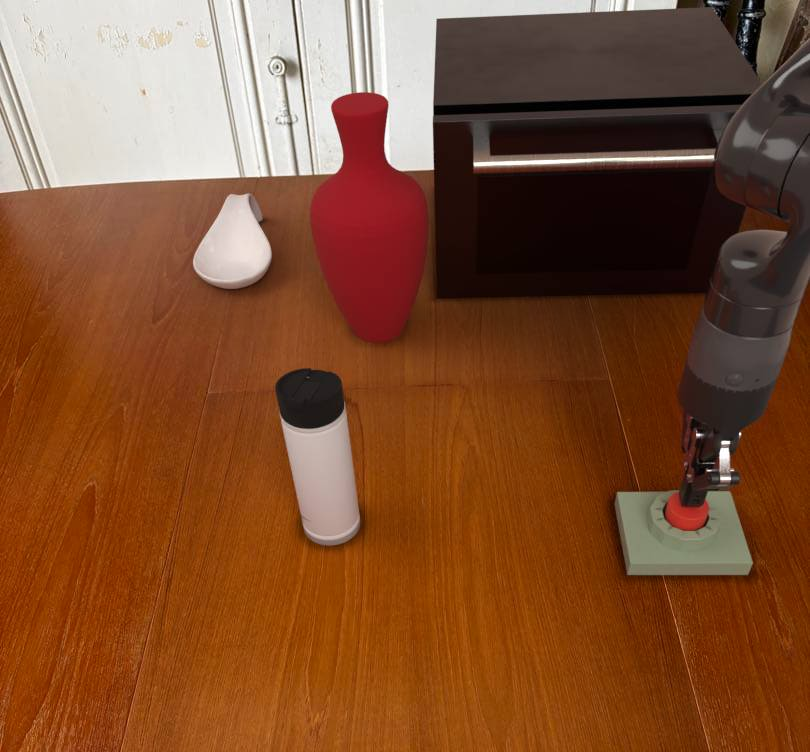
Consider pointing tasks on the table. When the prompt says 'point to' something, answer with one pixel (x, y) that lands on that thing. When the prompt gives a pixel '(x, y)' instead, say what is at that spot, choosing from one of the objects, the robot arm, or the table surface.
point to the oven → (588, 62)
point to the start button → (685, 514)
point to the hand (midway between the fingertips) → (690, 501)
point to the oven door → (579, 202)
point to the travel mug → (319, 453)
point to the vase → (369, 225)
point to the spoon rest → (234, 246)
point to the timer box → (680, 537)
